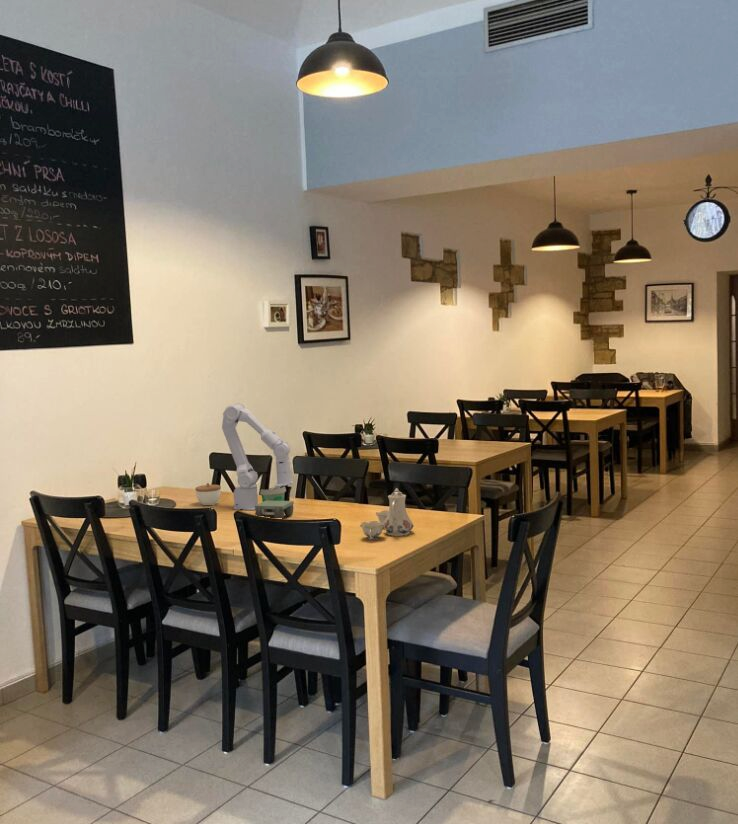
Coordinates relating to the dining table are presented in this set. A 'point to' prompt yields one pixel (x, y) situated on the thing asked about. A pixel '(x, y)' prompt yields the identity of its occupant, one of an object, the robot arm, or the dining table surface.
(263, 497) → the food container
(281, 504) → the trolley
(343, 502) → the dining table surface
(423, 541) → the dining table surface
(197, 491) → the lidded jar
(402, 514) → the chinaware
